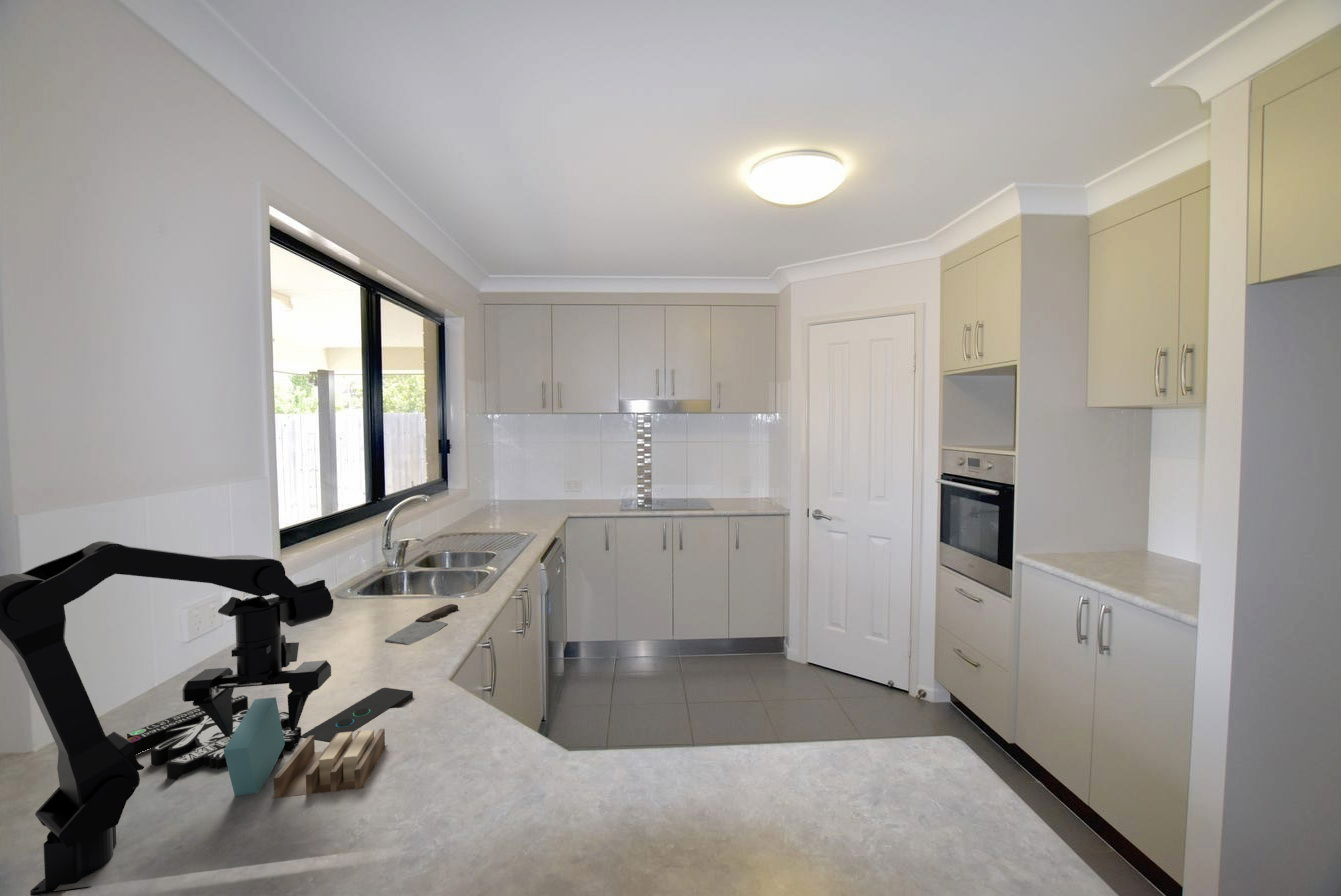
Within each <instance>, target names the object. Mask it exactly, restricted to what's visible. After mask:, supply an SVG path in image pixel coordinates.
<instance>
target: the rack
mask: <svg viewBox="0 0 1341 896" xmlns="http://www.w3.org/2000/svg"><path fill="white" fill-rule="evenodd" d="M361 731H362V730H358V731H357V733H356V734H355V736H354V737H352V741H351V743H350V744H349V746H348V747H347V749H346V750H345V751H344V753H343V754H342V756H341V757H340V759H339V760H338V762H337V763H336V765H335V766H334V767H333V769H332V770H331V772H330V783H331V784H326V785H320V773H319V759H320V758H321V757H322V755H323V754H324V753H325V751H326V750H327V749H328V747H329V746H330V745H331V743H332V742H333V741H334V739H335V738H336V737H337V735H338V734H339V733H337V734H336V735H335V737H334V738H333V739H332V741H331V742H328V745H327V746H326V747H325V749H324V750H323V751H316V750H315V749H316V748H315V740H314V735H311V736H308V738H305V740H304V741H303V742H302V743H301V744H300V745H299V747H298V748H297V749H296V751H295V752H294V753H293V754H292V756H291V757H290V758H289V759H288V760H287V761H286V762H285V764H284V765H283V766H282V768H281V769H279V771H278V772H277V773H276V774H275V775H274V777H273V779H272V780H273V795H272V796H271V799H277V798H278V799H279V798H289V797H296V796H305V795H314V794H315V795H316V794H323V793H324V794H325V793H331V792H332V793H333V792H341V791H342V792H343V791H348V790H349V791H351V790H359V789H364V787H366V784H367V782H368V780H369V779H370V777H371V776H372V774H373V771H374V770H375V768H376V766H377V765H378V762H380V759H381V757H382V756H383V754H384V753H385V750H386V748H387V746H388V745H387V744H386V739H385V738H386V736H385V734H386V733H385V728H379V729H378V731H377V733H376V734H375V735H374V739H373V740H372V742H371V744H370V745H369V747H368V749H367V750H366V752H365V753H364V755H363V757H362V758H361V760H360V761H359V763H358V765H357V766H356V768H355V769H354V774H355V781H353V782H344V779H343V757H344V755H345V754H346V752H347V751H348V749H349V748H350V746H351V745H352V744H353V742H354V741H355V739H356V738H357V736H358V735H359V733H360V732H361Z"/></svg>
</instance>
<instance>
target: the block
mask: <svg viewBox="0 0 1341 896" xmlns="http://www.w3.org/2000/svg"><path fill="white" fill-rule="evenodd" d="M278 707H279V706H278V701H277V697H266V698H255V699H254V700H253V702H252V703H251V705H250V706H249V707H248V709H249V710H248V711H247V713H246V715H245V716H244V718H243V719H242V721H241V723H240V724H239V726H238V728H237V729H236V731H235V733H234V734H233V736H232V737H231V739H230V741H229V742H228V744H227V746H226V747H225V749H224V754H225V758H226V762H227V766H228V767H227V770H228V775H229V778H230V782H231V787H232V790H233V795H234V797H235V796H245V795H252V794H258V793H259V792H260V790H261V789H262V787H263V786H264V785H265V784H266V783H267V781H268V779H269V778H270V775H271V773H272V771H273V769H274V767H275V765H276V763H277V761H278V760H279V759H278V757H279V755H280V753H281V751H282V749H283V747H284V745H285V742H284V737H283V732H282V727H281V721H280V716H279V713H280V712H279V708H278Z"/></svg>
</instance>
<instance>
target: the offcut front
mask: <svg viewBox="0 0 1341 896" xmlns="http://www.w3.org/2000/svg"><path fill="white" fill-rule="evenodd" d="M360 731H361V732H360V733H359V735H358V736H357V738H356V739H355V741H354V742H353V744H352V745H351V746H350V748H349V749H348V751H347V752H346V754H345V755H344V757H343V779H344V782H353V781H355V774H354V769H355V768H356V766H357V765H358V763H359V761H360V760H361V758H362V757H363V755H364V753H365V752H366V750H367V749H368V747H369V745H370V744H371V742H372V740H373V739H374V737H375V729H367V730H366V729H365V730H360Z"/></svg>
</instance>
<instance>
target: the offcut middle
mask: <svg viewBox="0 0 1341 896" xmlns="http://www.w3.org/2000/svg"><path fill="white" fill-rule="evenodd" d="M352 740H353V732H342V733H339V734H338V735H337V737H336V738H335V739H334V741H333V742H332V743H331V745H330V746H329V747H328V749H327V750H326V751H325V753H324V754H323V755H322V757H321V758H320V759H319V773H320V785H326V784H331V783H330V772H331V770H332V769H333V767H334V766H335V765H336V763H337V762H338V760H339V759H340V757H341V756H342V754H343V753H344V751H345V750H346V749H347V747H348V746H349V744H350V743H351V741H352Z"/></svg>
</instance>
